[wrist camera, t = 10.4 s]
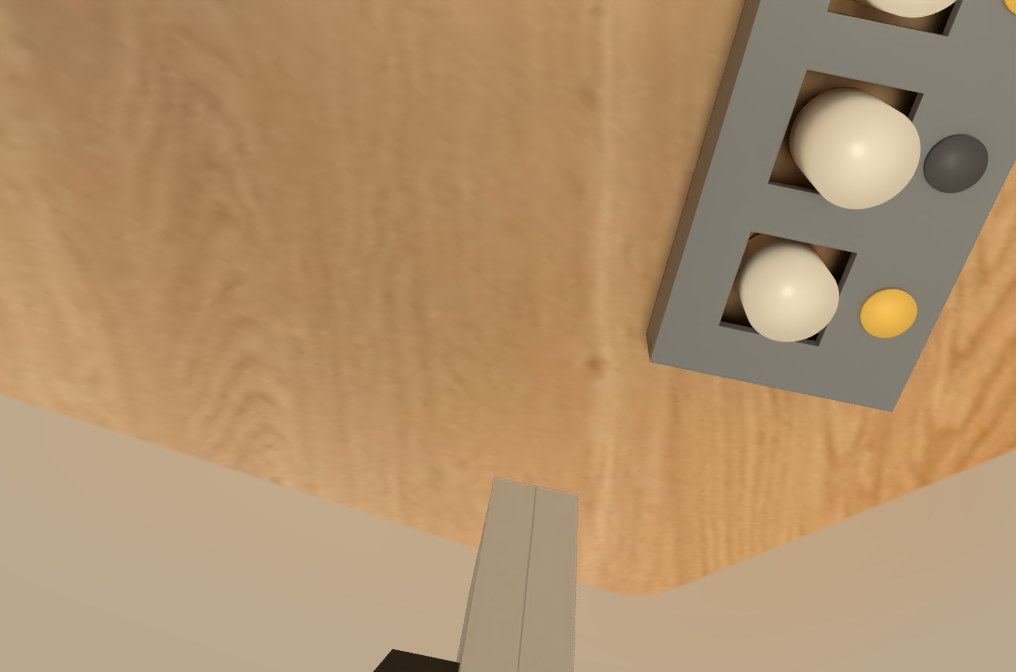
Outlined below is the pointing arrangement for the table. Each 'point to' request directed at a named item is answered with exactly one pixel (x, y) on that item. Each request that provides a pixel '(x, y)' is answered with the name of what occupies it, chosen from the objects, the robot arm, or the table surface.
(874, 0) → the button
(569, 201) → the table surface
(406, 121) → the table surface
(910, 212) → the console
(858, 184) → the button
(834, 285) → the button
